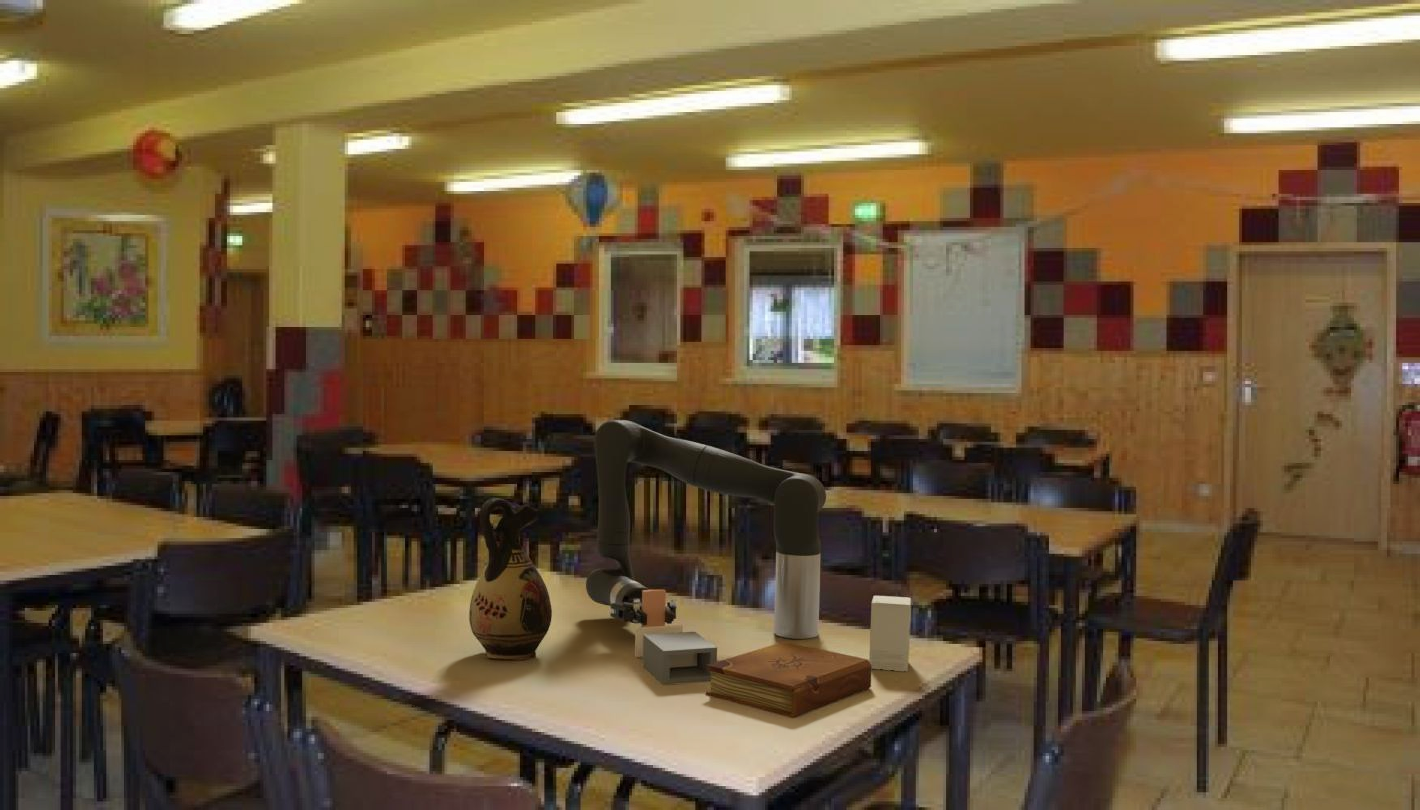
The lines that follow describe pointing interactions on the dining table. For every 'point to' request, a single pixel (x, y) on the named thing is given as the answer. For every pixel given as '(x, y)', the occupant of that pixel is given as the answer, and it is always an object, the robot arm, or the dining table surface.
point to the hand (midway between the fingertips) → (657, 619)
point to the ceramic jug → (509, 589)
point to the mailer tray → (659, 626)
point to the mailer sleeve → (668, 644)
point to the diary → (788, 678)
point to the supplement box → (890, 633)
